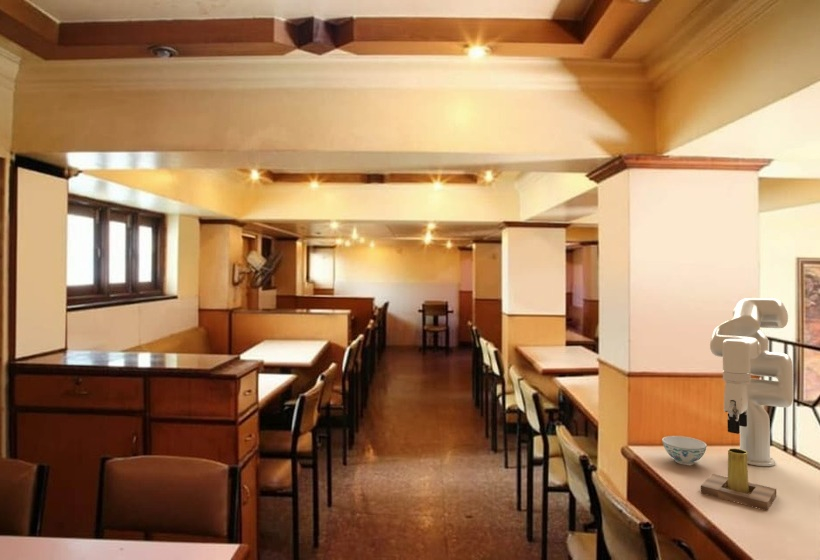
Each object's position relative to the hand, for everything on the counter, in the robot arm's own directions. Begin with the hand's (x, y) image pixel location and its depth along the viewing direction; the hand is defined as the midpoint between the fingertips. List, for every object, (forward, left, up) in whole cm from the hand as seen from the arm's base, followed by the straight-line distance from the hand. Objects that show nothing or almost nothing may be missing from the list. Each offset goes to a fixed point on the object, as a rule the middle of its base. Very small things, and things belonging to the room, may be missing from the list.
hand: (737, 429), depth 161 cm
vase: (0, 0, -22) cm, 21 cm away
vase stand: (0, 0, -21) cm, 21 cm away
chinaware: (-20, -22, -22) cm, 36 cm away
